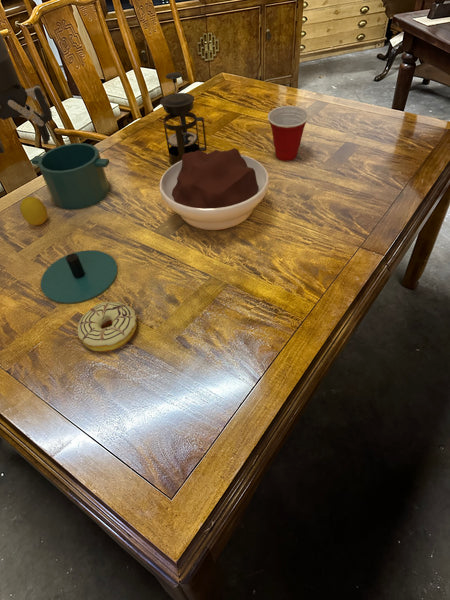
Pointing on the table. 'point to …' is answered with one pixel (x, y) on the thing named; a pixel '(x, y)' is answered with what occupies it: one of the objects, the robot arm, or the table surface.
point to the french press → (180, 108)
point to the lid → (79, 277)
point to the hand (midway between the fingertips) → (24, 147)
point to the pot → (74, 175)
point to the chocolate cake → (214, 188)
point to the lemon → (33, 210)
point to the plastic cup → (287, 130)
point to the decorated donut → (109, 337)
